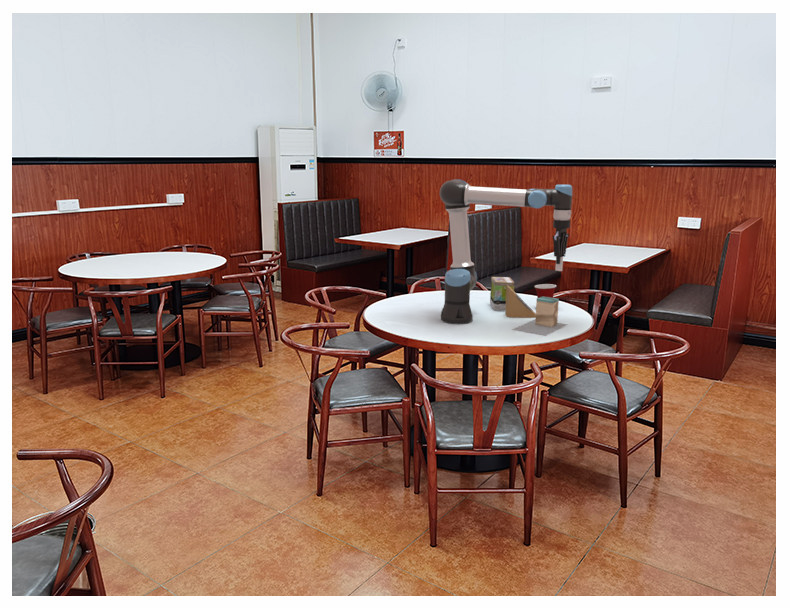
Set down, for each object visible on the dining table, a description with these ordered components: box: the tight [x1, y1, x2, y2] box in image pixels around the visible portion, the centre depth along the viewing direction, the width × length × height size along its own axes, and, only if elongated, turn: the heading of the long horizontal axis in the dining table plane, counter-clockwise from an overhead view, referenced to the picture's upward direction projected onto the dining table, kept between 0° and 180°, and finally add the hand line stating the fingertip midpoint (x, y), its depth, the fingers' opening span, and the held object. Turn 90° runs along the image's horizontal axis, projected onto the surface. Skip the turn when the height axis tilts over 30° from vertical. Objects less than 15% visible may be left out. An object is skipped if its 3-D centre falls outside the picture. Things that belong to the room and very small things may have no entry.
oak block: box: [534, 296, 560, 327], centre depth 282 cm, size 6×8×12 cm
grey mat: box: [511, 319, 569, 337], centre depth 279 cm, size 24×16×1 cm, turn 142°
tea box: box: [489, 276, 515, 311], centre depth 316 cm, size 15×10×15 cm
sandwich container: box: [504, 285, 536, 319], centre depth 298 cm, size 9×15×15 cm, turn 88°
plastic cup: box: [534, 283, 557, 299], centre depth 314 cm, size 11×11×12 cm
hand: (558, 270), depth 286 cm, fingers closed
